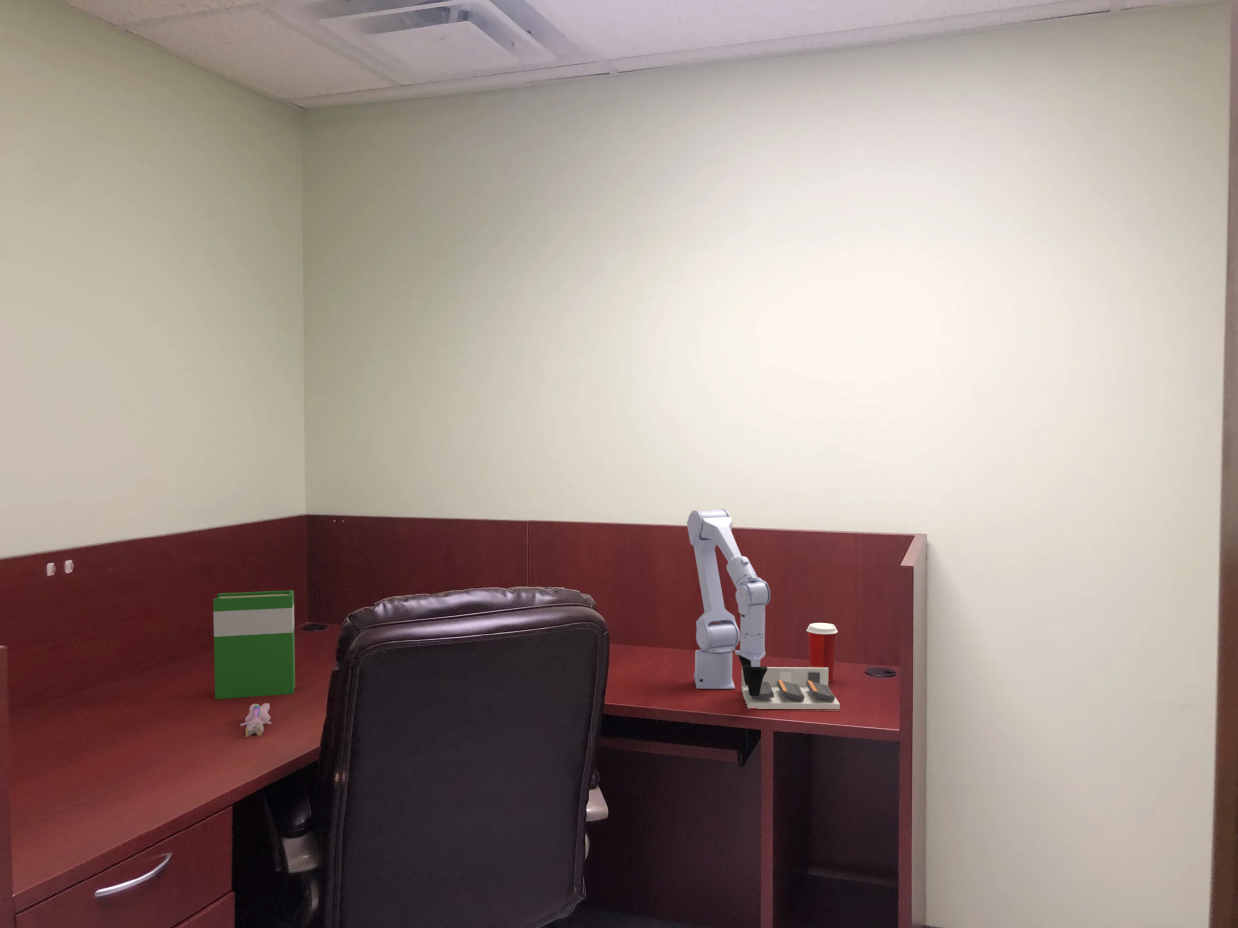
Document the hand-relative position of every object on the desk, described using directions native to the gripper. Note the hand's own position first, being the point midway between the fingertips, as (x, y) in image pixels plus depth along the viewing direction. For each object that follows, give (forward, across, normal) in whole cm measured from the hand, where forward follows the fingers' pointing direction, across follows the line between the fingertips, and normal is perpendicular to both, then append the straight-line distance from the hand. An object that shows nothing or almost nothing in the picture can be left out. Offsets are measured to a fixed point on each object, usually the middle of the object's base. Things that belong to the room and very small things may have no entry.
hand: (751, 689), depth 228 cm
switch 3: (0, 0, +16) cm, 16 cm away
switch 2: (0, 0, +9) cm, 9 cm away
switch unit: (+3, -2, +9) cm, 10 cm away
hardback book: (+3, -4, -120) cm, 120 cm away
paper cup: (+3, -20, +20) cm, 29 cm away
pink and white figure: (+4, +22, -109) cm, 111 cm away
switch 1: (0, 0, +2) cm, 2 cm away
